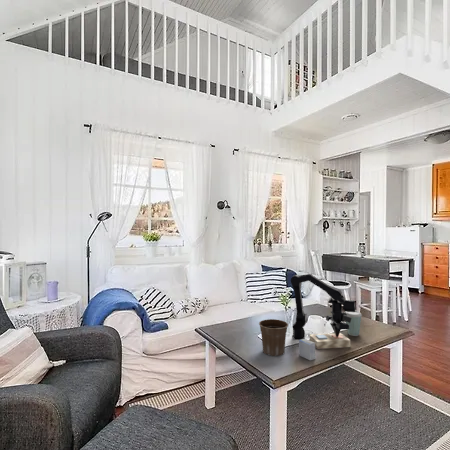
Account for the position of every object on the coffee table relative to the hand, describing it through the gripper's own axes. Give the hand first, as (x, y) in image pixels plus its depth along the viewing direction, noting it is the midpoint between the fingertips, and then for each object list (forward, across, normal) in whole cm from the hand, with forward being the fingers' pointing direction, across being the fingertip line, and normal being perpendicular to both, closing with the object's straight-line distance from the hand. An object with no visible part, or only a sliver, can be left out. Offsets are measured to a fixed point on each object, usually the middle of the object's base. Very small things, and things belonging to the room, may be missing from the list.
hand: (337, 336), depth 184 cm
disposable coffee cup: (+4, +13, -17) cm, 22 cm away
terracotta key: (+3, 0, 0) cm, 3 cm away
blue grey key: (+2, 0, +10) cm, 10 cm away
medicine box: (+5, -16, +25) cm, 30 cm away
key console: (+4, 0, +5) cm, 7 cm away
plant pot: (+4, -7, +41) cm, 42 cm away
